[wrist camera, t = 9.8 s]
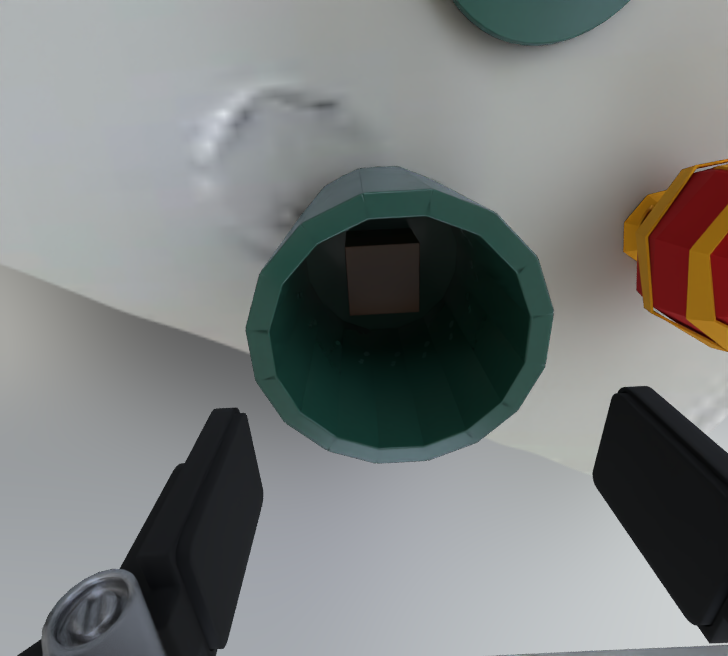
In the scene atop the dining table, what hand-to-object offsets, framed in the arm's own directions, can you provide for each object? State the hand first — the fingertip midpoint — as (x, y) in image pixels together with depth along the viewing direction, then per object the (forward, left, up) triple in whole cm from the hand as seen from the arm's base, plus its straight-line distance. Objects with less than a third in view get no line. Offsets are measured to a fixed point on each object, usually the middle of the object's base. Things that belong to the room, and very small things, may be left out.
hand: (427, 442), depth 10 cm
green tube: (0, 0, -19) cm, 19 cm away
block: (0, 0, -18) cm, 18 cm away
